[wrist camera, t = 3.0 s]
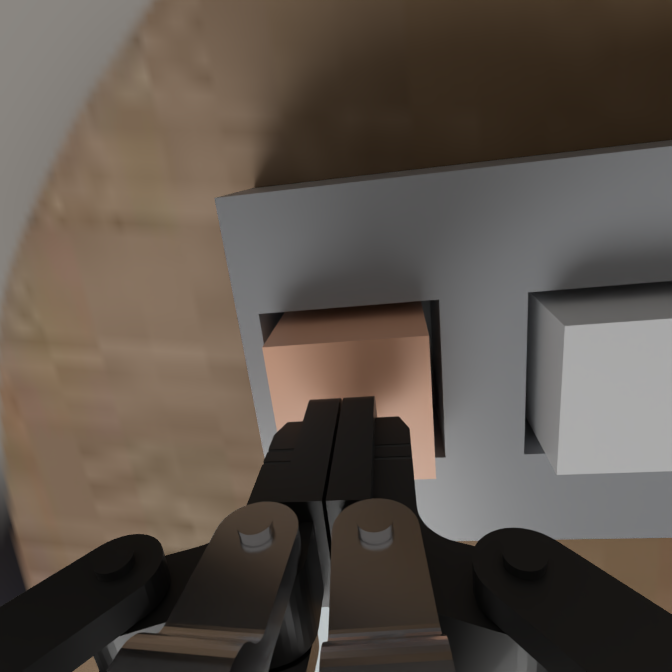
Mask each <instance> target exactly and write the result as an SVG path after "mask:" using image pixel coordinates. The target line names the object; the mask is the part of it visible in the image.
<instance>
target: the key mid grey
mask: <svg viewBox="0 0 672 672" xmlns="http://www.w3.org/2000/svg"><path fill="white" fill-rule="evenodd" d="M525 416H526V418H527V420H528V422H529V424H530V426H531V427H532V429H533V431H534V433H535V435H536V437H537V439H538V441H539V442H540V444H541V446H542V448H543V450H544V452H545V454H546V456H547V457H548V459H549V461H550V463H551V465H552V467H553V469H554V471H555V472H556V474H557V475H571V474H601V473H632V472H663V471H672V281H664V282H651V283H639V284H626V285H614V286H601V287H589V288H576V289H564V290H551V291H539V292H528V320H527V359H526V399H525Z"/></svg>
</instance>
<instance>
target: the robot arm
mask: <svg viewBox="0 0 672 672" xmlns="http://www.w3.org/2000/svg"><path fill="white" fill-rule="evenodd" d="M322 607H329V626H328V641H327V642H323V643H322V646H321V652H320V662H319V672H672V614H670V613H669V612H667V611H666V610H664V609H663V608H661V607H659V606H658V605H656V604H655V603H653V602H652V601H650V600H648V599H647V598H645V597H644V596H642V595H641V594H639V593H637V592H636V591H634V590H633V589H631V588H630V587H628V586H627V585H625V584H623V583H622V582H620V581H619V580H617V579H616V578H614V577H612V576H611V575H609V574H608V573H606V572H605V571H603V570H601V569H600V568H598V567H597V566H595V565H594V564H592V563H591V562H589V561H587V560H586V559H584V558H583V557H581V556H580V555H578V554H576V553H575V552H573V551H572V550H570V549H569V548H567V547H565V546H564V545H562V544H561V543H559V542H558V541H556V540H554V539H553V538H551V537H549V536H547V535H545V534H542V533H540V532H537V531H534V530H530V529H524V528H503V529H498V530H495V531H492V532H490V533H488V534H486V535H485V536H483V537H482V538H481V539H480V540H479V541H478V542H477V544H476V545H475V546H472V545H467V544H463V543H459V542H455V541H452V540H449V539H447V538H444V537H442V536H440V535H438V534H437V533H435V532H434V531H432V530H431V529H430V528H429V527H428V526H427V525H426V524H425V523H424V522H423V521H422V519H421V518H420V515H419V513H418V509H417V501H416V491H415V480H414V469H413V459H412V448H411V438H410V428H409V427H408V426H407V425H406V424H405V423H404V421H403V420H402V419H401V418H400V417H399V416H395V417H377V410H376V401H375V396H365V397H347V398H343V400H342V399H341V398H331V399H313V400H309V402H308V405H307V409H306V412H305V415H304V419H303V421H298V422H287V423H286V424H285V425H284V426H283V427H282V428H281V429H280V430H279V431H278V432H277V433H276V434H274V436H273V439H272V441H271V444H270V447H269V449H268V452H267V454H266V457H265V459H264V465H262V467H261V470H260V472H259V475H258V477H257V480H256V483H255V485H254V488H253V490H252V493H251V495H250V498H249V501H248V503H247V505H246V506H244V507H241V508H239V509H237V510H235V511H234V512H232V513H231V514H229V515H228V516H227V517H226V518H225V519H224V520H223V521H222V522H221V523H220V524H219V526H218V528H217V529H216V531H215V533H214V535H213V536H212V538H211V540H210V542H209V543H208V544H205V545H202V546H199V547H196V548H192V549H188V550H185V551H181V552H177V553H174V554H170V555H166V556H165V555H164V551H163V548H162V546H161V543H160V542H159V541H158V540H157V539H156V538H154V537H152V536H149V535H144V534H133V535H127V536H123V537H119V538H116V539H114V540H111V541H109V542H107V543H105V544H103V545H101V546H99V547H98V548H96V549H94V550H93V551H91V552H89V553H88V554H86V555H85V556H83V557H81V558H80V559H78V560H76V561H75V562H73V563H71V564H70V565H68V566H66V567H65V568H63V569H62V570H60V571H58V572H57V573H55V574H53V575H52V576H50V577H48V578H47V579H45V580H43V581H42V582H40V583H39V584H37V585H35V586H34V587H32V588H30V589H29V590H27V591H25V592H24V593H22V594H20V595H19V596H17V597H15V598H14V599H12V600H11V601H9V602H7V603H6V604H4V605H2V606H1V607H0V672H72V671H74V670H75V669H76V668H78V667H79V666H80V665H82V664H83V663H84V662H86V661H87V660H88V659H90V658H91V657H92V656H94V658H95V661H96V663H97V666H98V668H99V672H315V669H316V664H317V659H318V654H319V638H318V629H319V623H320V616H321V608H322Z"/></svg>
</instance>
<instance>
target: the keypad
mask: <svg viewBox="0 0 672 672" xmlns="http://www.w3.org/2000/svg"><path fill="white" fill-rule="evenodd" d="M215 203H216V208H217V214H218V219H219V224H220V229H221V234H222V239H223V245H224V250H225V255H226V260H227V265H228V271H229V276H230V281H231V286H232V291H233V296H234V302H235V307H236V312H237V317H238V322H239V328H240V333H241V338H242V343H243V348H244V354H245V359H246V364H247V369H248V374H249V379H250V385H251V390H252V395H253V400H254V405H255V411H256V416H257V421H258V426H259V431H260V436H261V442H262V447H263V452H264V457H266V454H267V452H268V449H269V447H270V444H271V441H272V439H273V436H274V434H276V433H277V428H276V423H275V417H274V412H273V406H272V400H271V395H270V389H269V384H268V378H267V372H266V367H265V361H264V356H263V350H262V347H263V345H264V344H265V342H266V341H267V339H268V337H269V336H270V334H271V333H272V331H273V330H274V328H275V326H276V325H277V323H278V322H279V320H280V319H281V317H282V315H283V314H284V312H289V311H302V310H314V309H327V308H339V307H352V306H364V305H377V304H389V303H402V302H414V301H421V304H422V308H423V312H424V317H425V321H426V325H427V329H428V333H429V345H430V365H431V386H432V406H433V426H434V446H435V466H436V479H417V480H415V491H416V501H417V509H418V513H419V515H420V518H421V519H422V521H423V522H424V523H425V524H426V525H427V526H428V527H429V528H430V529H431V530H432V531H434V532H435V533H437V534H438V535H440V536H442V537H444V538H447V539H449V540H452V541H479V540H480V539H481V538H482V537H483V536H485V535H486V534H488V533H490V532H492V531H495V530H498V529H503V528H524V529H530V530H534V531H537V532H540V533H542V534H545V535H547V536H549V537H551V538H553V539H613V538H672V471H663V472H632V473H601V474H571V475H557V474H556V472H555V471H554V469H553V467H552V465H551V463H550V461H549V459H548V457H547V456H546V454H545V452H544V450H543V448H542V446H541V444H540V442H539V441H538V439H537V437H536V435H535V433H534V431H533V429H532V427H531V426H530V424H529V422H528V420H527V418H526V416H525V399H526V359H527V320H528V292H539V291H551V290H564V289H576V288H589V287H601V286H614V285H626V284H639V283H651V282H664V281H672V140H665V141H657V142H648V143H639V144H631V145H622V146H613V147H605V148H596V149H587V150H579V151H570V152H561V153H553V154H544V155H535V156H527V157H518V158H509V159H501V160H492V161H483V162H475V163H466V164H457V165H449V166H440V167H431V168H423V169H414V170H405V171H397V172H388V173H379V174H371V175H362V176H353V177H345V178H336V179H327V180H319V181H310V182H301V183H293V184H284V185H275V186H267V187H258V188H252V189H248V190H244V191H240V192H236V193H232V194H228V195H225V196H221V197H217V198H215Z"/></svg>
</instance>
